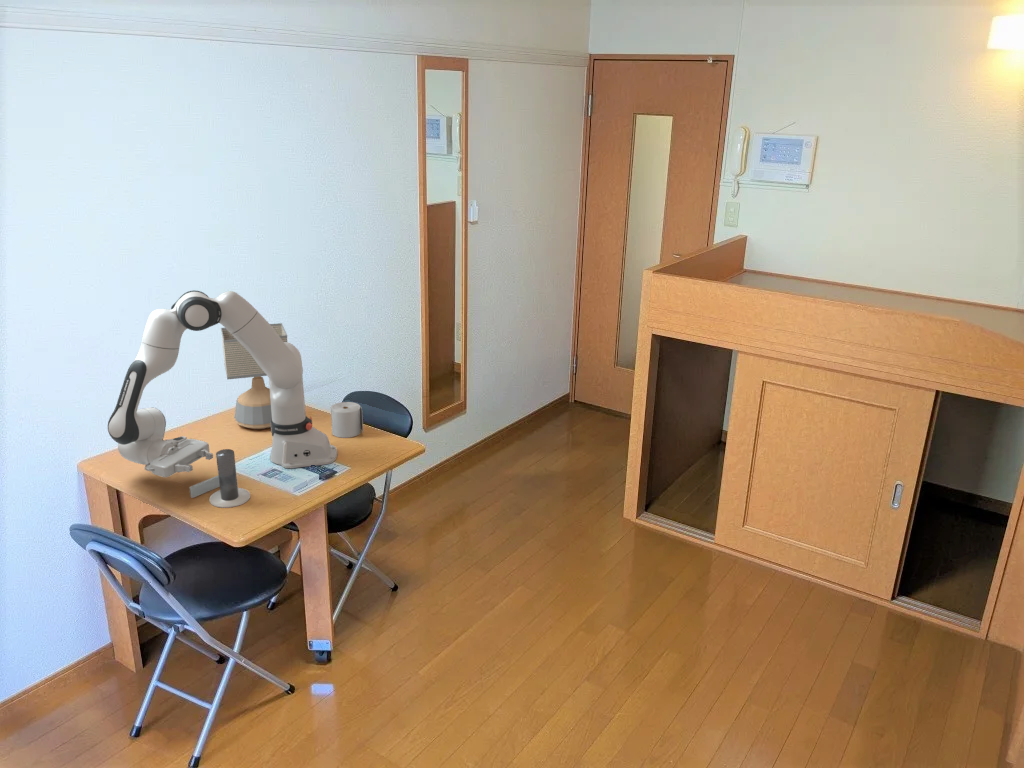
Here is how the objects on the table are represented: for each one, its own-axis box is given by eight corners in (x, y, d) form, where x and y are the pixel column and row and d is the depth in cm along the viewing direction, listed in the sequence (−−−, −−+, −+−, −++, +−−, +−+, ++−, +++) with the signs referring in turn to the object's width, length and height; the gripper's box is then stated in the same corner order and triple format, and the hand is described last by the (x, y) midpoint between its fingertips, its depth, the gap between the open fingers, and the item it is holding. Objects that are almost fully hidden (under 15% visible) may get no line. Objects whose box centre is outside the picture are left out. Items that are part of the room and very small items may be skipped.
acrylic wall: (229, 480, 269) (228, 471, 268) (231, 481, 269) (230, 472, 268) (190, 497, 259) (189, 486, 257) (192, 497, 258) (191, 487, 257)
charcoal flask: (234, 491, 262) (229, 447, 256) (241, 497, 258) (236, 453, 253) (218, 495, 259) (213, 452, 253) (225, 502, 255) (220, 458, 250)
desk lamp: (233, 435, 302) (223, 339, 289) (229, 416, 319) (220, 324, 306) (294, 428, 310) (287, 334, 297) (287, 410, 326) (281, 319, 314)
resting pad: (253, 488, 265) (253, 487, 265) (246, 507, 254) (246, 505, 253) (214, 489, 263) (214, 488, 263) (205, 508, 252) (205, 506, 252)
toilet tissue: (334, 426, 313) (333, 401, 309) (366, 426, 313) (365, 402, 310) (329, 438, 303) (328, 412, 299) (362, 438, 303) (361, 412, 300)
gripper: (139, 458, 252) (176, 467, 247) (186, 433, 270) (221, 441, 266) (142, 477, 254) (179, 486, 250) (188, 451, 272) (223, 459, 268)
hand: (201, 462), depth 258 cm, fingers open, 8 cm apart
